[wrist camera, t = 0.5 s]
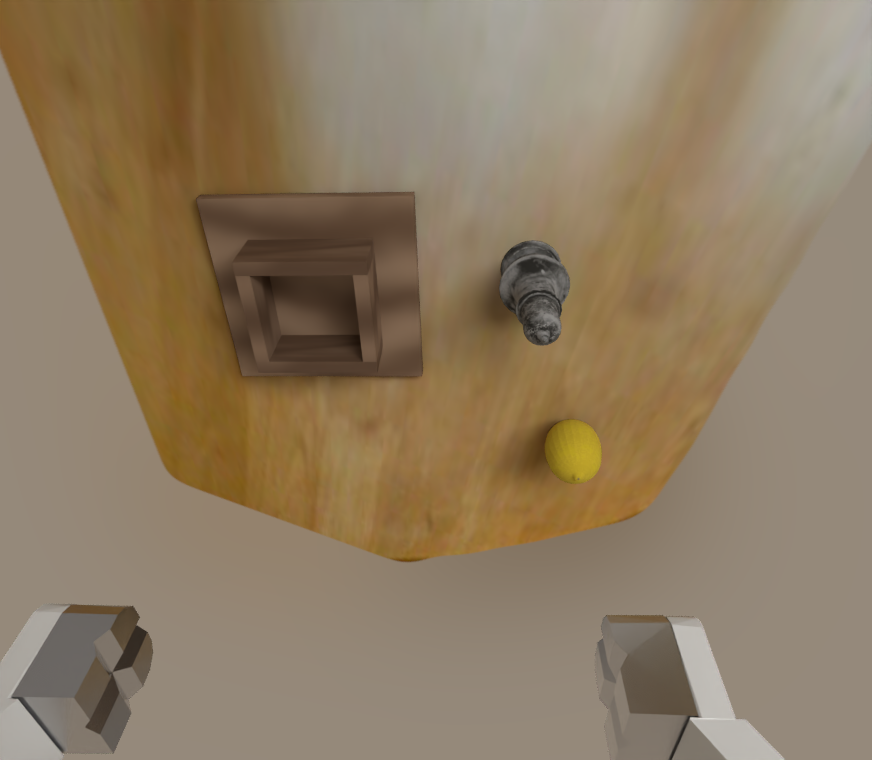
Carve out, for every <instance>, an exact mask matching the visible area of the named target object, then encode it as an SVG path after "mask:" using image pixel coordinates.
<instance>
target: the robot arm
mask: <svg viewBox="0 0 872 760" xmlns="http://www.w3.org/2000/svg"><path fill="white" fill-rule="evenodd" d="M139 618H140V616H139V615H138V613H137V611H136V610H135V608H134V607H133V606H109V605H77V604H43V605H42V606H41V607H39V608H38V609H37V610H36V611H34V613H33V614H32V615H31V617H30V618H29V620H28V621H27V623H26V624H25V626H24V627H23V629H22V630H21V632H20V633H19V635H18V636H17V638H16V639H15V641H14V643H13V644H12V646H11V647H10V649H9V650H8V652H7V653H6V655H5V656H4V658H3V659H2V661H1V662H0V760H61V759H62V758H63V757H64V755H63V753H81V754H85V753H86V754H87V753H88V754H93V753H94V754H95V753H96V754H100V753H101V754H109V753H110V754H111V753H112V754H113V753H114V751H115V749H116V747H117V744H118V742H119V740H120V738H121V736H122V733H123V731H124V729H125V726H126V724H127V722H128V720H129V717H130V715H131V709H130V704H129V700H128V699H130V698H131V697H132V696H133V695H134V694H135V693H136V692H137V691H138V690H140V689H141V688H142V687H143V685H144V683H145V680H146V678H147V676H148V673H149V671H150V667H151V661H152V655H153V648H152V640H151V638H150V636H149V634H148V632H147V631H145V630H143V629H142V628H140V627H139V626H137V625H136V624H137V622H138V620H139ZM601 630H602V636H603V639H602V640H600V641H599V642H597V648H596V653H595V673H596V681H597V688H598V694H599V699H600V700H601V702H602V703H603V704H604V705H605V706H606V707H607V709H608V714H607V718H606V722H605V726H604V728H605V734H606V739H607V744H608V750H609V755H610V760H785V759H784V758H783V757H782V756H781V755H780V754H779V753H778V752H777V751H776V750H775V749H774V748H773V747H772V746H771V745H770V744H769V743H768V742H767V740H766V739H764V738H763V737H762V735H760V733H759V732H758V731H756V729H755V728H754V727H753V726H752V725H751V724H750V723H749V722H748V721H747V720H746V719H739V718H736V717H735V715H734V712H733V709H732V706H731V703H730V701H729V698H728V695H727V692H726V690H725V687H724V684H723V682H722V678H721V676H720V673H719V670H718V667H717V664H716V662H715V659H714V656H713V653H712V650H711V648H710V645H709V642H708V639H707V637H706V634H705V631H704V628H703V625H702V623H701V622H700V621H699V620H698V618H696V617H693V616H692V617H690V616H663V615H606V616H605V617H604V618H603V620H602V624H601Z"/></svg>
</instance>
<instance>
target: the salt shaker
mask: <svg viewBox="0 0 872 760" xmlns="http://www.w3.org/2000/svg"><path fill="white" fill-rule="evenodd" d="M501 275H502V277H501V279H500V285H499V291H500V297H501V299H502V301H503V303H504V305H505V306H506V307H507V308H508V309H509V310H510V311H512V312H513V313H515V314H516V315H517V318H518V320H519V321H520V322H521V323H522V324H523V330H524V334H525V336H526V338H527V339H528V340H529V341H530V342H531V343H533V344H536V345H548V344H551V343H553V342H554V341H556V340H557V338H558V337H559V335H560V332H561V322H560V318H559V317H560V316H561V312H562V304H563V302H564V301H565V299H566V297H567V295H568V292H569V288H570V280H569V276H568V273H567V270H566V269H565V268H564V266H563V265H562V264H561V261H560V258H559V256H558V253H557V252H556V251H555V250H554V248H552V247H551V246H550V245H548V244H546V243H543V242H541V241H526V242H522V243H520V244H517V245H516V246H514V247H513V248H511V249H510V250H509V251H508V253H507V254H506V255H505V257H504V259H503V261H502V265H501Z"/></svg>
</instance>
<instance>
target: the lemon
mask: <svg viewBox="0 0 872 760" xmlns="http://www.w3.org/2000/svg"><path fill="white" fill-rule="evenodd" d="M545 455H546V460H547V463H548V465H549V467H550V468H551V470H552V472H553V473H554V474H555V475H556V476H557V477H558V478H559V479H560V480H562V481H564V482H567V483H571V484H580V483H584V482H586V481H588V480H590V479H591V478H593V477H594V476H595V474H596V473H597V472H598V470H599V467H600V465H601V458H602V449H601V444H600V441H599V438H598V436H597V434H596V433H595V431H594V430H593V429H592V428H591V427H590V426H589V425H588V424H586V423H585V422H582V421H580V420H575V419H567V420H563V421H561V422H559V423H557V424H556V425H554V426H553V427H552V428H551V429H550V431H549V433H548V435H547V437H546V441H545Z"/></svg>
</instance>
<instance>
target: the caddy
mask: <svg viewBox="0 0 872 760" xmlns="http://www.w3.org/2000/svg"><path fill="white" fill-rule="evenodd" d="M196 201H197V205H198V209H199V212H200V216H201V220H202V224H203V228H204V231H205V235H206V239H207V243H208V247H209V250H210V254H211V258H212V262H213V266H214V269H215V273H216V277H217V281H218V285H219V288H220V292H221V296H222V300H223V304H224V307H225V311H226V315H227V319H228V323H229V326H230V330H231V334H232V338H233V342H234V345H235V349H236V353H237V357H238V361H239V364H240V368H241V372H242V376H422V374H423V363H422V342H421V321H420V300H419V280H418V259H417V238H416V217H415V197H414V192H376V193H300V194H224V195H200V196H199V197H198V198H196Z"/></svg>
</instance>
